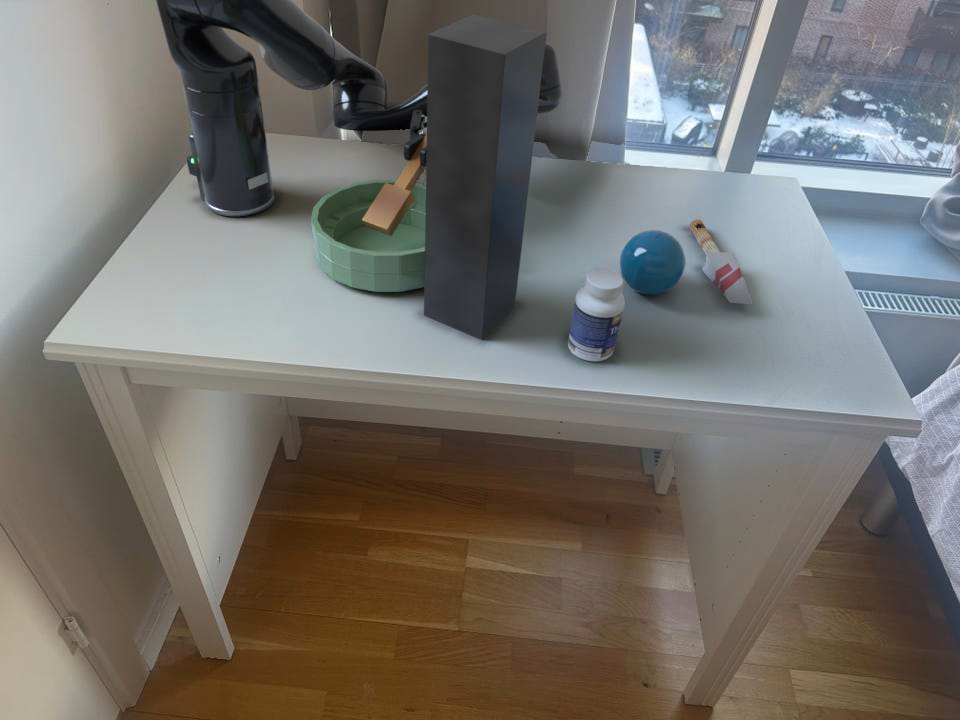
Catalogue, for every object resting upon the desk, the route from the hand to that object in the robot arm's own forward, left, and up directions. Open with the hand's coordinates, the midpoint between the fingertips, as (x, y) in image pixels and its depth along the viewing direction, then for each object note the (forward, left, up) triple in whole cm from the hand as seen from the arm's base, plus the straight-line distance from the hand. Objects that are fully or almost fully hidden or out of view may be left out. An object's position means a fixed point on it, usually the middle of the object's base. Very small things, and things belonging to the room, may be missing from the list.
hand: (414, 156), depth 93 cm
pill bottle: (+30, -8, -12) cm, 33 cm away
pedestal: (+15, -10, -12) cm, 21 cm away
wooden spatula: (0, -1, -3) cm, 3 cm away
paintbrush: (+37, +17, -12) cm, 42 cm away
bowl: (0, -6, -12) cm, 13 cm away
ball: (+31, +7, -12) cm, 34 cm away
